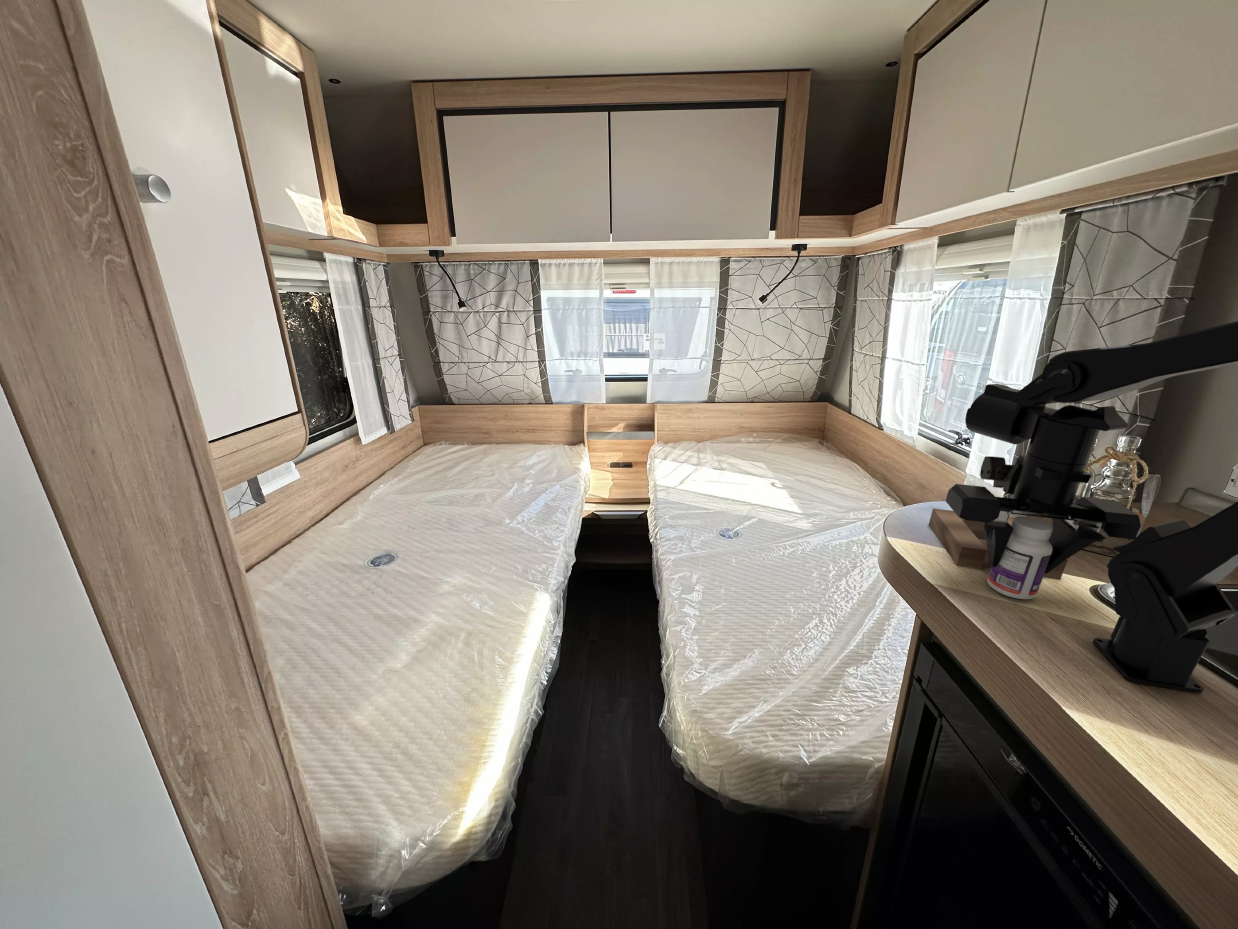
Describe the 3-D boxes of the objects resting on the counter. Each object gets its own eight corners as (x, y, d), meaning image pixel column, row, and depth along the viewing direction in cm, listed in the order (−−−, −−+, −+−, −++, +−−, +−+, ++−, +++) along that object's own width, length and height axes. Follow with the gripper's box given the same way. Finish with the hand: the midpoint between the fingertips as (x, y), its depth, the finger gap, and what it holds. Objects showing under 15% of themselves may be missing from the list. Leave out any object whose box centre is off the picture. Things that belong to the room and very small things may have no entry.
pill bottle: (1019, 578, 70) (1041, 514, 66) (1045, 602, 65) (1071, 534, 61) (977, 575, 70) (997, 512, 67) (1000, 599, 65) (1024, 531, 62)
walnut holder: (1060, 578, 71) (1067, 560, 70) (956, 564, 74) (961, 546, 72) (1016, 535, 82) (1022, 518, 81) (928, 524, 85) (933, 508, 84)
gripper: (1106, 443, 66) (1065, 548, 72) (946, 430, 70) (920, 530, 76) (1169, 474, 56) (1117, 593, 61) (979, 457, 60) (945, 570, 66)
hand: (1017, 568), depth 66 cm, fingers closed on pill bottle, 5 cm apart
